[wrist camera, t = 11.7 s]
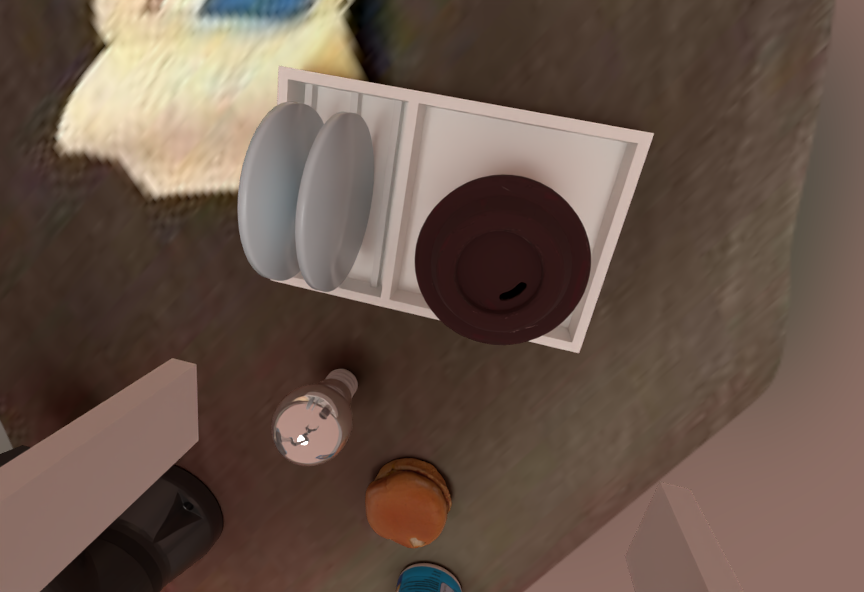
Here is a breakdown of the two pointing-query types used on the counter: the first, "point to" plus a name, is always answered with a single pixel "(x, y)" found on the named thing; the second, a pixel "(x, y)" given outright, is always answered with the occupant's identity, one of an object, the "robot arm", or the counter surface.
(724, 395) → the counter surface
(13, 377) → the counter surface
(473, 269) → the coffee cup
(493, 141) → the white tray
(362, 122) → the plates
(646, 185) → the counter surface
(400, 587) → the beverage bottle
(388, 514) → the burger
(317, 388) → the light bulb
